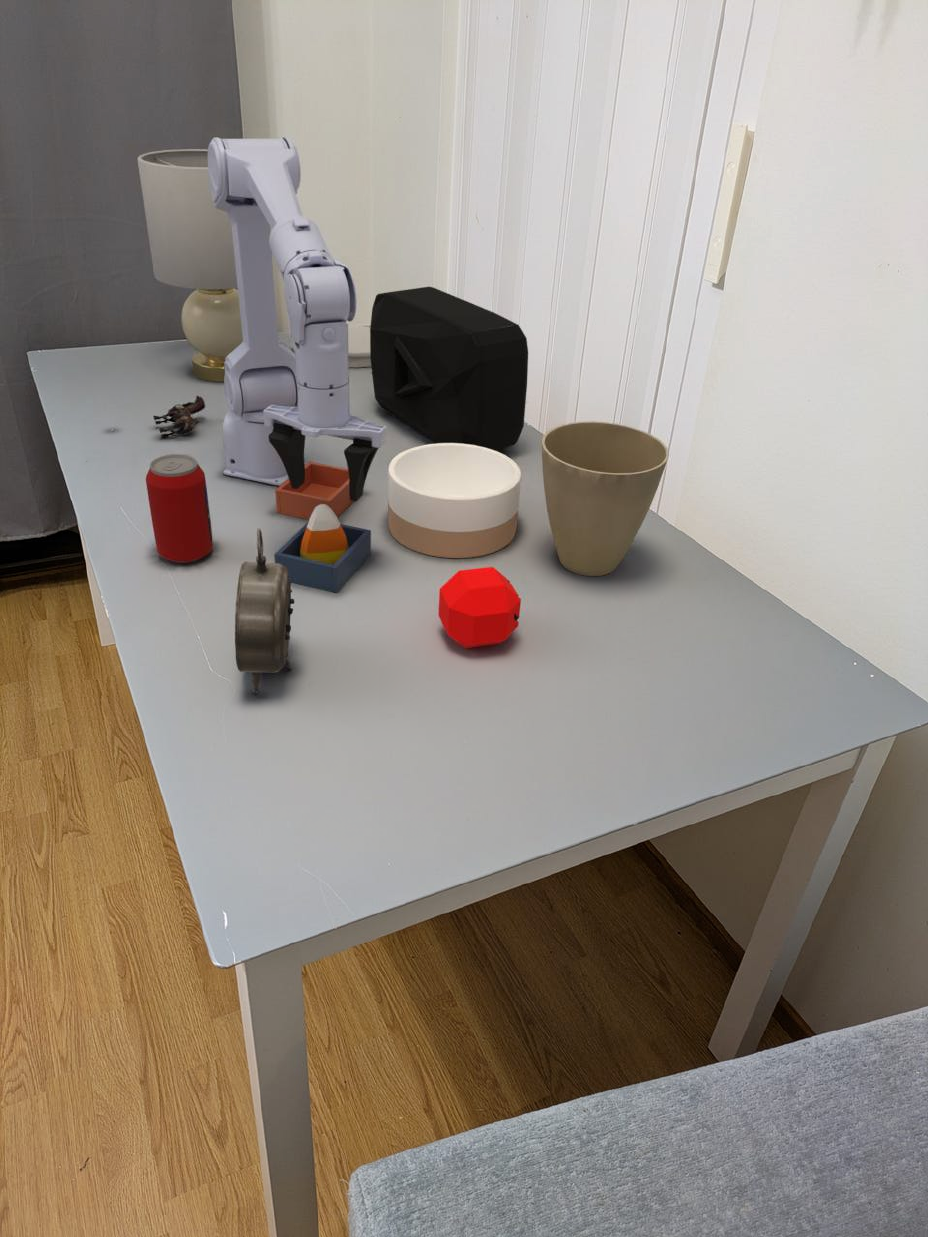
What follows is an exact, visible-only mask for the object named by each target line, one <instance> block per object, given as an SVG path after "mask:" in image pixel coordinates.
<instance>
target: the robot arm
mask: <svg viewBox="0 0 928 1237" xmlns="http://www.w3.org/2000/svg"><path fill="white" fill-rule="evenodd" d="M207 149H208V168H209V177H210V186H211V195H212V200H213V201H214V207H215V208H217V209H219V210H222V211H225V212H227V213H228V217H229V220H230V223H231V227H232V236H233V246H234V256H235V266H236V276H237V286H238V288H237V290H238V296H239V305H240V315H241V325H242V335H243V342H242V343H241V344H240V345H239V346H238V347H237V348H236V349H235V350H233V351H232V352H231V353H230V354H229V355H228V356H227V357H226V358H225V362H224V365H225V377H224V382H223V383H224V385H223V386H224V392H225V398H226V402H227V406H228V408H229V410H228V411H227V413H226V415H225V416H224V418H223V422H222V423H223V424H222V442H223V452H224V460H225V469H224V470H223V475H225V476H228V477H229V476H230V477H235V478H240V479H244V480H249V481H254V482H257V483H258V482H259V483H264V484H268V485H273V486H278V487H279V486H281V485H282V484H283V483H284V482H285V481H287V480H288V479H289V480H290V483H291V487H292V488H293V489H298V488H299V487H300V486H301V485H302V484H303V483H304V482H305V465H306V464H307V462H306V461H305V445H306V437H311V438H318V437H320V436H328V437H332V438H338V439H343V440H349V441H352V443H351V444H349V445H348V446H347V447H346V448H345V449H344V450H343V454H344V457H345V460H346V466H347V469H348V472H349V495H350V501H353V502H357V501H359V499H360V498H361V497H362V496H363V494H364V490H365V489H364V488H365V485H366V484H365V483H366V480H367V476H368V474H369V471H370V470H369V469H370V468H371V466H372V462H373V461H374V458H375V456H376V454H377V452H378V450H379V449H381V448H382V447H383V446H384V445H385V444H386V443H387V440H388V438H387V437H388V436H387V435H388V427H387V425H383V424H379V423H376V422H372V421H370V420H368V419H365V418H362V417H359V416H357V415H355V414H352V413H351V412H350V410H351V408H350V406H351V405H350V367H349V357H348V326H349V324H348V323H347V322H352V321H353V320H354V319H355V316H356V312H357V290H356V285H355V280H354V277H353V274H352V272H351V269H350V267H349V266H348V265H347V264H346V263H342V262H341V261H340V259H333V256H332V254H331V252H330V250H329V248H328V245H327V244H326V241H325V239H324V236H323V235H322V233H321V231H320V228H319V227H318V225H317V223H316V222H315V221H314V220H313V219H311V218H309V217H308V216H304V215H303V212H302V208H301V206H300V205H301V204H300V202H299V200H298V196H297V194H298V191H299V188H300V186H301V185H300V184H301V174H302V170H301V161H300V155H299V152H298V148H297V146H296V144H295V143H294V142H293V140H292V139H291V138H290V137H288V136H284V137H282V138H220V137H213V138H212V139H211V141H210V142H209V144H208V147H207ZM269 225H270V229H271V230H270V231H271V233H270V232H269ZM271 251H272V256H271ZM273 258H274V260H275V263H276V265H277V267H278V270H279V272H280V275H281V277H282V279H283V281H284V301H285V306H286V311H287V314H288V320H289V331H290V336H291V338H292V339H293V340H294V346H295V353H296V356H295V355H294V351H293V350H291V349H289V348H288V347H286V346H284V345H283V344H282V343H280V341H279V331H278V321H277V319H278V317H277V307H276V294H275V283H274V268H273V269H272V265H273Z"/></svg>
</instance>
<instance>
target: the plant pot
mask: <svg viewBox="0 0 928 1237" xmlns="http://www.w3.org/2000/svg"><path fill="white" fill-rule="evenodd" d="M669 456H670V453H669V449H668V447H667V446H666V444H665V443H664V442H663V441H662V440H661V439H659V438H658V437H656V436H655V435H653V434H651V433H649V432H647V431H644V430H641V429H639V428H636V427H632V426H629V425H626V424H621V423H615V422H608V421H607V422H606V421H590V420H589V421H575V422H569V423H563V424H561V425H557V426H555V427H553V428H551V429H549V430H548V431H546V432H545V433H544V434H543V436H542V438H541V462H542V477H543V479H542V480H543V488H544V498H545V503H546V510H547V516H548V521H549V527H550V531H551V535H552V539H553V543H554V546H555V549H556V553H557V557H558V559H559V562H560V564H561V565H562V566H563V568H565V569H566V570H568V571H570V572H572V573H574V574H577V575H581V576H586V577H602V576H605V575H609V574H611V573H613V572H614V571H615V570H616V569H617V567H618V566H619V564H620V563H621V562H622V560H623V558H624V557H625V556H626V553H627V552H628V550H629V549H630V547H631V546H632V543H633V542H634V540H635V538H636V537H637V535H638V532H639V530H640V529H641V527H642V524H643V522H644V521H645V519H646V516H647V514H648V512H649V510H650V508H651V505H652V504H653V500H654V498H655V496H656V493H657V490H658V488H659V485H660V482H661V479H662V477H663V474H664V471H665V468H666V466H667V463H668V460H669Z"/></svg>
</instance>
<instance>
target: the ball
mask: <svg viewBox="0 0 928 1237" xmlns="http://www.w3.org/2000/svg"><path fill="white" fill-rule="evenodd" d="M438 595H439V596H438V618H439V620H440V622H441V624H442V626H443V628H444V631H445V632H446V634H447V636H448V637H449V638H451V639H453V640H454V641H455V642H456V643H458V644H459V645H460V646H462V648H464V649H471V648H477V647H486V646H487V647H488V646H493V645H500V644H501V643H503V642H504V641H506V640H507V639H508V638H509V637H511V635H512V634H513V632H515V630H516V629H518V627H519V621H518V619H519V618H520V615H521V614H520V613H521V603H522V599H521V597H520V596H519V594H518V592H517V590H516V589H515V587H514V586H513V584H512V583H511V581H510V580H509V579H508V578H507V577H506V576H504V575H503V573H501V572H500V571H499V570H497V569H496V568H495V567H494V566H487V567H486V566H485V567H477V568H468V569H460V570H457V571H456V573H455V574H454V575H452V576H451V577H450V579H448V580H447V581H446V582H445V583H444V584H443V585H441V587H440V588H439V594H438Z"/></svg>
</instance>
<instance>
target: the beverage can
mask: <svg viewBox="0 0 928 1237" xmlns="http://www.w3.org/2000/svg"><path fill="white" fill-rule="evenodd" d="M145 484H146V493H147V497H148V498H147V499H148V506H149V511H150V517H151V525H152V530H153V536H154V541H155V548H156V552H157V554H158V556H160V557H161V558H163V559H166V560H168V561H171V562H174V563H178V564H179V563H180V564H182V563H183V564H185V563H193V562H196V561H199V560H200V559H202V558H203V557H205V556H207V555H208V554H210V552H211V551H212V550H213V548H214V541H213V531H212V521H211V514H210V504H209V496H208V489H207V488H208V487H207V479H206V473H205V472H204V470H203V468H202V467H201V466H200V465H199V463H198V460H197V459H196V458H195V457H193V456H191V455H188V454H181V453H180V454H179V453H177V454H175V453H174V454H173V453H172V454H165V455H161V456H158V457H156V458H154V459H153V460H152V461H151V462H150V463H149V469H148V470H147V473H146V476H145Z"/></svg>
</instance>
